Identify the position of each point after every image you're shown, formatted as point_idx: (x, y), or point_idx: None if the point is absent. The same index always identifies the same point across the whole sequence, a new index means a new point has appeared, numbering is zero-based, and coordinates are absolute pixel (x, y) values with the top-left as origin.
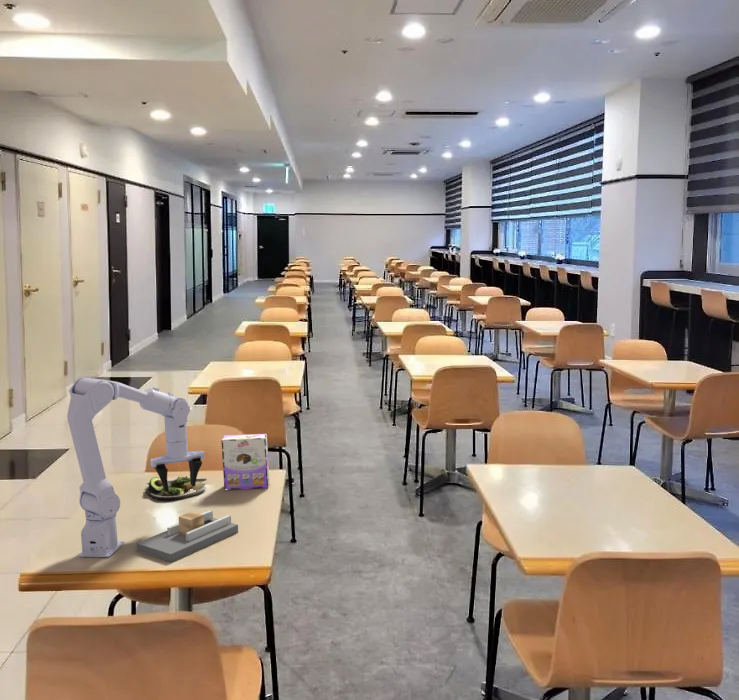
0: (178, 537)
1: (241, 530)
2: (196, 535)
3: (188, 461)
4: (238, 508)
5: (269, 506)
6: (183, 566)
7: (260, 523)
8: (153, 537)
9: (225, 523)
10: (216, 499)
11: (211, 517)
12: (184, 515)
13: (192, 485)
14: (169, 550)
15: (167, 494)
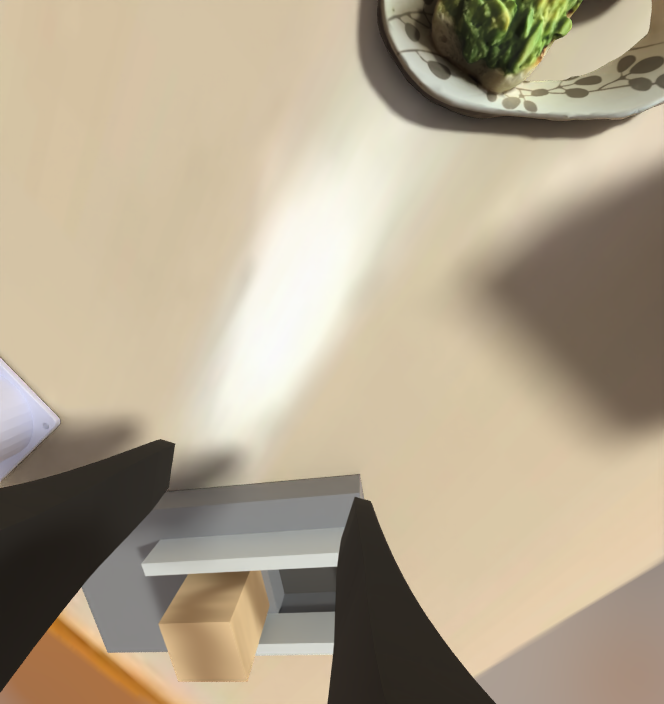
0: (178, 581)
1: None
2: None
3: (378, 687)
4: (559, 456)
5: (658, 536)
6: (139, 664)
7: (487, 624)
8: None
9: None
10: (596, 277)
11: None
12: (182, 633)
13: (343, 533)
14: (114, 632)
15: (442, 35)
